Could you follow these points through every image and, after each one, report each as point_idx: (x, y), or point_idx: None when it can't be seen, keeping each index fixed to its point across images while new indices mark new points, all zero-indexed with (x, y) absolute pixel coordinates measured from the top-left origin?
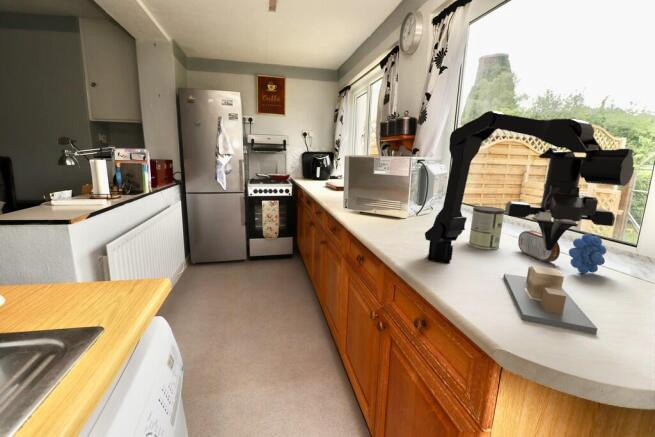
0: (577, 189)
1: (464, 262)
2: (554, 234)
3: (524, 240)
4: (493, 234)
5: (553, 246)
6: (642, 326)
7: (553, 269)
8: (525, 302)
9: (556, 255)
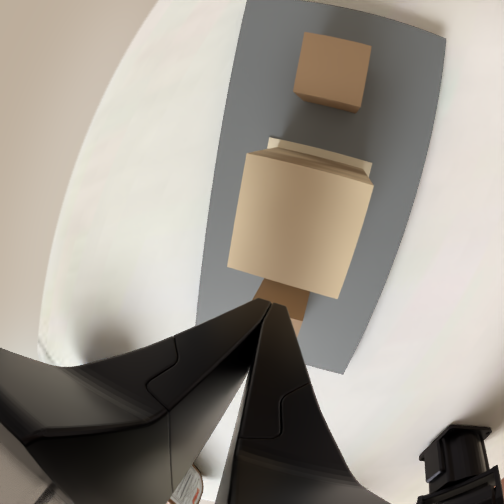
0: None
1: (396, 440)
2: (206, 385)
3: (190, 495)
4: None
5: (239, 306)
6: (110, 101)
7: (246, 258)
8: (405, 126)
9: None
